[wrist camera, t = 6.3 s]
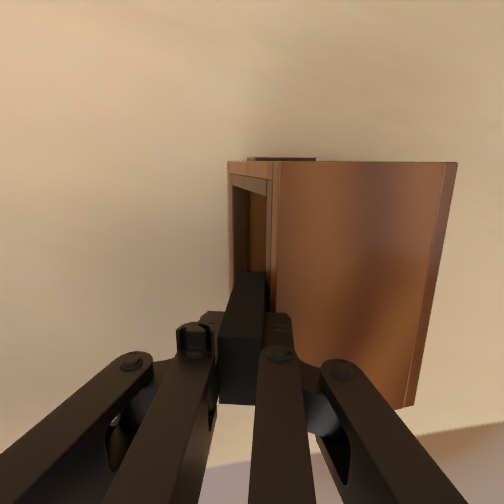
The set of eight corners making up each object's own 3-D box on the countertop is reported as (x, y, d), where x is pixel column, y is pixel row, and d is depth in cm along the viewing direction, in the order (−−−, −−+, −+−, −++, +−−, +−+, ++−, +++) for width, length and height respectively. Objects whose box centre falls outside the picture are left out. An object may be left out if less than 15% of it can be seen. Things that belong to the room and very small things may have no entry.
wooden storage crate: (230, 334, 26) (271, 442, 16) (227, 158, 22) (279, 155, 12) (325, 320, 29) (414, 408, 19) (337, 159, 25) (460, 157, 15)
